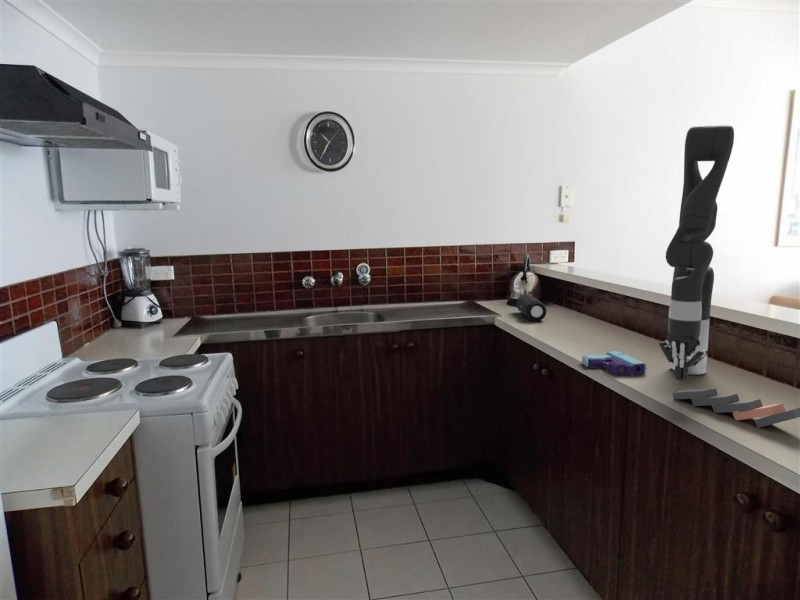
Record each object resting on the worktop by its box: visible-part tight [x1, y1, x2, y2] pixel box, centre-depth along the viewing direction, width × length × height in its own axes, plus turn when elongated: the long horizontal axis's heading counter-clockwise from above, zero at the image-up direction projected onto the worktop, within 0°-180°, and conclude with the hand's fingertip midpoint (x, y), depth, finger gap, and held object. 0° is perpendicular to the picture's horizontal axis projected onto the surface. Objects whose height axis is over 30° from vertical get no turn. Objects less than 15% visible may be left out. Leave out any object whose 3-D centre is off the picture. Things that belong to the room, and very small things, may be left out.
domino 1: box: [672, 387, 719, 400], centre depth 134 cm, size 2×5×9 cm
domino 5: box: [753, 406, 800, 429], centre depth 115 cm, size 2×5×9 cm
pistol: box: [581, 350, 648, 377], centre depth 165 cm, size 4×16×15 cm
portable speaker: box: [516, 293, 548, 322], centre depth 250 cm, size 26×10×10 cm, turn 179°
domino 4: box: [732, 402, 787, 422], centre depth 120 cm, size 2×5×9 cm
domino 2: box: [691, 393, 740, 407], centre depth 129 cm, size 2×5×9 cm
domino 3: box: [711, 398, 764, 414], centre depth 124 cm, size 2×5×9 cm
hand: (680, 379), depth 137 cm, fingers closed
